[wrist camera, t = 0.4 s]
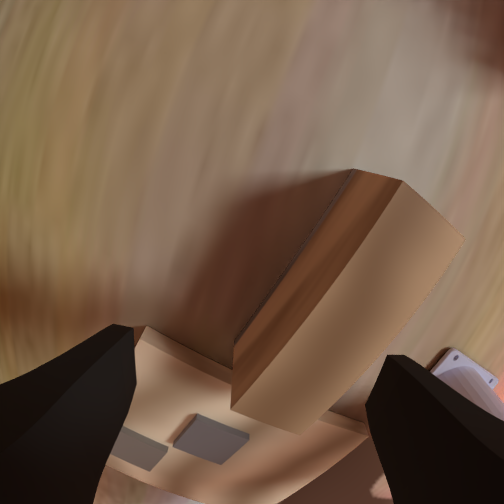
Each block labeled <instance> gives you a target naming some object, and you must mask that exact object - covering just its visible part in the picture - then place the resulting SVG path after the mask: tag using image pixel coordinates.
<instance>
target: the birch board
mask: <svg viewBox="0 0 504 504" xmlns="http://www.w3.org/2000/svg"><path fill="white" fill-rule="evenodd" d="M135 365H136V377H137V385H136V389H135V392H134V396H133V399H132V402H131V406H130V409H129V412H128V415H127V417H126V419H125V422H124V424H123V426H125V427H127V428H129V429H131V430H133V431H135V432H137V433H139V434H141V435H143V436H145V437H148V438H150V439H152V440H154V441H156V442H159V443H161V444H163V445H166V446H168V452H167V453H166V455H165V456H164V457H163V458H162V459H161V460H160V461H159V462H158V463H157V464H156V466H155V467H154V468H153V469H152V470H151V471H150V472H149V471H147V470H144V469H142V468H140V467H137V466H135V465H133V464H130V463H128V462H126V461H124V460H122V459H120V458H118V457H115V456H113V455H111V454H110V455H109V458H108V460H107V462H106V466H108V467H111V468H113V469H115V470H117V471H119V472H121V473H124V474H126V475H128V476H130V477H133V478H135V479H137V480H140V481H142V482H145V483H147V484H150V485H152V486H155V487H157V488H160V489H163V490H165V491H168V492H171V493H174V494H177V495H180V496H183V497H186V498H189V499H192V500H195V501H198V502H202V503H205V504H277V503H278V502H280V501H282V500H283V499H285V498H287V497H288V496H290V495H291V494H293V493H294V492H296V491H297V490H299V489H300V488H302V487H303V486H305V485H306V484H308V483H309V482H311V481H312V480H314V479H315V478H317V477H318V476H319V475H321V474H322V473H324V472H325V471H326V470H328V469H329V468H330V467H332V466H333V465H334V464H336V463H337V462H338V461H340V460H341V459H342V458H343V457H345V456H346V455H347V454H348V453H350V452H351V451H352V450H353V449H355V448H356V447H357V446H358V445H360V444H361V443H362V442H363V441H364V440H365V439H367V438H368V437H369V435H368V432H367V429H366V426H365V424H364V423H362V422H359V421H356V420H354V419H351V418H348V417H345V416H342V415H339V414H337V413H334V412H331V411H328V410H327V411H326V412H325V413H324V414H323V415H322V416H321V417H320V418H319V419H318V420H316V421H315V422H314V423H313V424H312V425H311V426H310V427H309V428H308V429H307V430H306V431H304V432H303V433H302V434H301V435H297V434H294V433H291V432H288V431H285V430H282V429H279V428H276V427H273V426H271V425H268V424H265V423H262V422H260V421H257V420H254V419H252V418H249V417H247V416H244V415H242V414H239V413H237V412H234V411H232V410H230V403H231V386H232V370H231V369H229V368H227V367H225V366H223V365H221V364H219V363H217V362H215V361H213V360H211V359H209V358H207V357H205V356H203V355H201V354H199V353H197V352H195V351H193V350H191V349H189V348H187V347H185V346H183V345H181V344H179V343H178V342H176V341H174V340H172V339H170V338H168V337H166V336H165V335H163V334H161V333H159V332H157V331H156V330H154V329H152V328H150V327H148V326H146V328H145V330H144V332H143V333H142V335H141V337H140V339H139V341H138V343H137V345H136V347H135ZM197 413H198V414H200V415H203V416H205V417H208V418H210V419H212V420H215V421H217V422H220V423H222V424H225V425H227V426H230V427H232V428H235V429H238V430H240V431H243V432H246V433H248V434H249V441H248V442H247V443H246V444H245V445H244V446H242V447H241V448H240V449H239V450H238V451H237V452H236V453H235V454H233V455H232V456H231V457H230V458H229V459H228V460H227V461H225V462H224V463H223V464H222V465H219V464H216V463H213V462H210V461H208V460H205V459H202V458H199V457H197V456H194V455H191V454H189V453H186V452H184V451H181V450H179V449H176V448H174V447H172V446H173V442H174V440H175V439H176V438H177V436H178V435H179V434H180V433H181V432H182V431H183V429H184V428H185V427H186V426H187V425H188V424H189V422H190V421H191V420H192V419H193V418H194V416H195V415H196V414H197Z"/></svg>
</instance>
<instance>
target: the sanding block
mask: <svg viewBox="0 0 504 504" xmlns="http://www.w3.org/2000/svg"><path fill="white" fill-rule="evenodd" d="M465 240H466V239H465V238H464V237H463V236H462V235H461V234H460V233H459V232H458V231H457V230H456V229H455V228H454V227H453V226H452V225H451V224H450V223H449V222H448V221H447V220H446V219H445V218H444V217H443V216H442V215H441V214H440V213H439V212H438V211H437V210H435V209H434V208H433V207H432V206H431V205H430V204H429V203H428V202H427V201H426V200H425V199H423V198H422V197H421V196H420V195H419V194H418V193H417V192H416V191H414V190H413V189H412V188H411V187H410V186H409V185H408V184H406V183H405V182H404V181H402V180H398V179H395V178H391V177H387V176H383V175H379V174H375V173H370V172H366V171H362V170H358V169H353V170H352V171H351V173H350V175H349V176H348V178H347V179H346V181H345V182H344V184H343V185H342V187H341V188H340V190H339V191H338V193H337V194H336V196H335V197H334V199H333V200H332V202H331V203H330V205H329V206H328V208H327V209H326V211H325V212H324V214H323V215H322V217H321V218H320V220H319V221H318V223H317V224H316V226H315V227H314V229H313V230H312V232H311V233H310V235H309V236H308V238H307V239H306V240H305V242H304V243H303V245H302V246H301V248H300V249H299V251H298V252H297V254H296V255H295V256H294V258H293V259H292V261H291V262H290V264H289V265H288V267H287V268H286V269H285V271H284V272H283V274H282V275H281V277H280V278H279V279H278V281H277V282H276V284H275V285H274V287H273V288H272V289H271V291H270V292H269V294H268V295H267V296H266V298H265V299H264V301H263V302H262V303H261V305H260V306H259V308H258V309H257V310H256V312H255V313H254V315H253V316H252V317H251V319H250V320H249V322H248V323H247V324H246V326H245V327H244V328H243V330H242V331H241V333H240V334H239V335H238V337H237V338H236V339H235V341H234V353H233V369H232V386H231V403H230V410H232V411H234V412H237V413H239V414H242V415H244V416H247V417H249V418H252V419H254V420H257V421H260V422H262V423H265V424H268V425H271V426H273V427H276V428H279V429H282V430H285V431H288V432H291V433H294V434H297V435H301V434H302V433H303V432H304V431H306V430H307V429H308V428H309V427H310V426H311V425H312V424H313V423H314V422H315V421H316V420H318V419H319V418H320V417H321V416H322V415H323V414H324V413H325V412H326V411H327V410H328V409H329V408H330V407H331V406H332V405H333V404H334V403H335V402H336V401H337V400H338V399H339V398H340V397H341V396H342V395H343V394H344V393H345V392H346V391H347V390H348V389H349V388H350V387H351V386H352V385H353V384H354V383H355V382H356V381H357V380H358V379H359V378H360V377H361V376H362V374H363V373H364V372H365V371H366V370H367V369H368V368H369V367H370V366H371V365H372V363H373V362H374V361H375V360H376V359H377V358H378V357H379V356H380V354H381V353H382V352H383V351H384V350H385V349H386V348H387V346H388V345H389V344H390V343H391V342H392V340H393V339H394V338H395V337H396V336H397V334H398V333H399V332H400V331H401V330H402V328H403V327H404V326H405V325H406V323H407V322H408V321H409V320H410V318H411V317H412V316H413V314H414V313H415V312H416V311H417V309H418V308H419V307H420V305H421V304H422V303H423V301H424V300H425V299H426V297H427V296H428V295H429V293H430V292H431V290H432V289H433V288H434V286H435V285H436V284H437V282H438V281H439V279H440V278H441V276H442V275H443V274H444V272H445V271H446V269H447V268H448V266H449V265H450V263H451V262H452V260H453V259H454V257H455V256H456V254H457V253H458V251H459V249H460V248H461V246H462V245H463V243H464V241H465Z"/></svg>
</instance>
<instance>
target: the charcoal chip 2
mask: <svg viewBox="0 0 504 504" xmlns="http://www.w3.org/2000/svg"><path fill="white" fill-rule="evenodd" d="M248 441H249V434H248V433H246V432H243V431H240V430H238V429H235V428H232V427H230V426H227V425H225V424H222V423H220V422H217V421H215V420H212V419H210V418H208V417H205V416H203V415H200V414H198V413H197V414H196V415H195V416H194V418H193V419H192V420H191V421H190V422H189V424H188V425H187V426H186V427H185V428H184V429H183V431H182V432H181V433H180V434H179V435H178V436H177V438H176V439H175V440H174V442H173V446H172V447H174V448H176V449H179V450H181V451H184V452H186V453H189V454H191V455H194V456H197V457H199V458H202V459H205V460H208V461H210V462H213V463H216V464H219V465H222V464H223V463H224V462H225V461H227V460H228V459H229V458H230V457H231V456H232V455H233V454H235V453H236V452H237V451H238V450H239V449H240V448H241V447H242V446H244V445H245V444H246V443H247V442H248Z"/></svg>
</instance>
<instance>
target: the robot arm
mask: <svg viewBox="0 0 504 504" xmlns="http://www.w3.org/2000/svg"><path fill="white" fill-rule="evenodd" d="M498 381H499V380H498V379H497V377H495V376H494V375H492V374H491V373H490V372H488V371H487V370H485V369H484V368H483V367H481V366H480V365H478V364H477V363H475V362H474V361H473V360H471V359H470V358H468V357H467V356H465V355H464V354H463V353H461V352H460V351H458V350H457V349H455V348H451V349H449V350H448V351H447V352H446V353H445V355H444V356H443V357H442V358H441V359H440V360H439V362H438V363H437V364H436V365H435V366H434V367H433V368H432V370H431V371H430V372H429V371H428V370H427V369H425V368H424V367H422V366H421V365H420V364H418V363H417V362H415V361H414V360H412V359H410V358H409V357H407V356H405V355H387V357H386V359H385V361H384V364H383V366H382V369H381V371H380V373H379V376H378V378H377V380H376V383H375V385H374V387H373V389H372V391H371V394H370V396H369V398H368V400H367V402H366V404H365V407H366V412H367V418H368V423H369V428H370V432H371V435H372V438H373V441H374V444H375V447H376V450H377V453H378V456H379V459H380V462H381V464H382V467H383V470H384V473H385V476H386V479H387V482H388V485H389V488H390V491H391V495H392V498H393V502H394V504H504V403H503V402H502V400H501V399H500V398H499V397H498V395H497V394H496V393H495V392H494V391H493V388H494V387H495V386H496V385H497V383H498ZM136 385H137V377H136V365H135V349H134V329H133V328H131V327H126V326H121V325H116V324H112V325H110V326H108V327H106V328H105V329H103V330H101V331H100V332H98V333H96V334H95V335H93V336H92V337H90V338H88V339H87V340H85V341H83V342H82V343H80V344H78V345H77V346H75V347H73V348H72V349H70V350H68V351H67V352H65V353H63V354H62V355H60V356H58V357H56V358H54V359H53V360H51V361H49V362H47V363H45V364H43V365H41V366H39V367H38V368H36V369H34V370H32V371H30V372H28V373H26V374H24V375H22V376H19V377H17V378H15V379H12V380H10V381H8V382H5V383H3V384H0V504H93V501H94V498H95V494H96V490H97V486H98V483H99V480H100V477H101V475H102V472H103V469H104V467H105V465H106V462H107V460H108V458H109V455H110V453H111V451H112V449H113V446H114V444H115V442H116V440H117V437H118V435H119V433H120V431H121V428H122V426H123V424H124V422H125V419H126V417H127V415H128V412H129V409H130V406H131V402H132V399H133V396H134V392H135V389H136Z"/></svg>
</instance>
